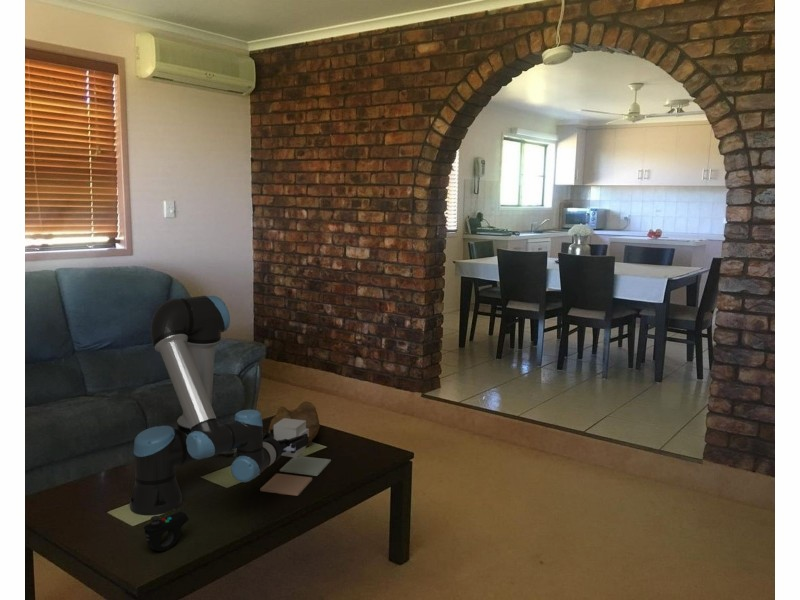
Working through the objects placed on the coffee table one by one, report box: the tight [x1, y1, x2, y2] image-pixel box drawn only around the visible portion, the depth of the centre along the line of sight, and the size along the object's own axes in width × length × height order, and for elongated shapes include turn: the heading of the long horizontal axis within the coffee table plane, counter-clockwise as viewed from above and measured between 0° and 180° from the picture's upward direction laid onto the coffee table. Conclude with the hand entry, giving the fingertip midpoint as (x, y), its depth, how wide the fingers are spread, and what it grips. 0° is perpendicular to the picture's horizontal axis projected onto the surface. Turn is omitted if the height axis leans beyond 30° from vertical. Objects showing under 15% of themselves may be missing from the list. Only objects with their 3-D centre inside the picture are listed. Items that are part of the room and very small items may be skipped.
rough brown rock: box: [268, 400, 321, 448], centre depth 255 cm, size 23×17×15 cm
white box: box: [274, 418, 307, 458], centre depth 215 cm, size 8×8×10 cm
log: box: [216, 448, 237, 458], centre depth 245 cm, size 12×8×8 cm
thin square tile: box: [259, 473, 313, 497], centre depth 217 cm, size 13×13×1 cm
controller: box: [143, 511, 189, 552], centre depth 175 cm, size 4×12×10 cm, turn 146°
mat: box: [279, 455, 332, 477], centre depth 233 cm, size 14×14×1 cm
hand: (295, 431), depth 220 cm, fingers closed on white box, 8 cm apart
